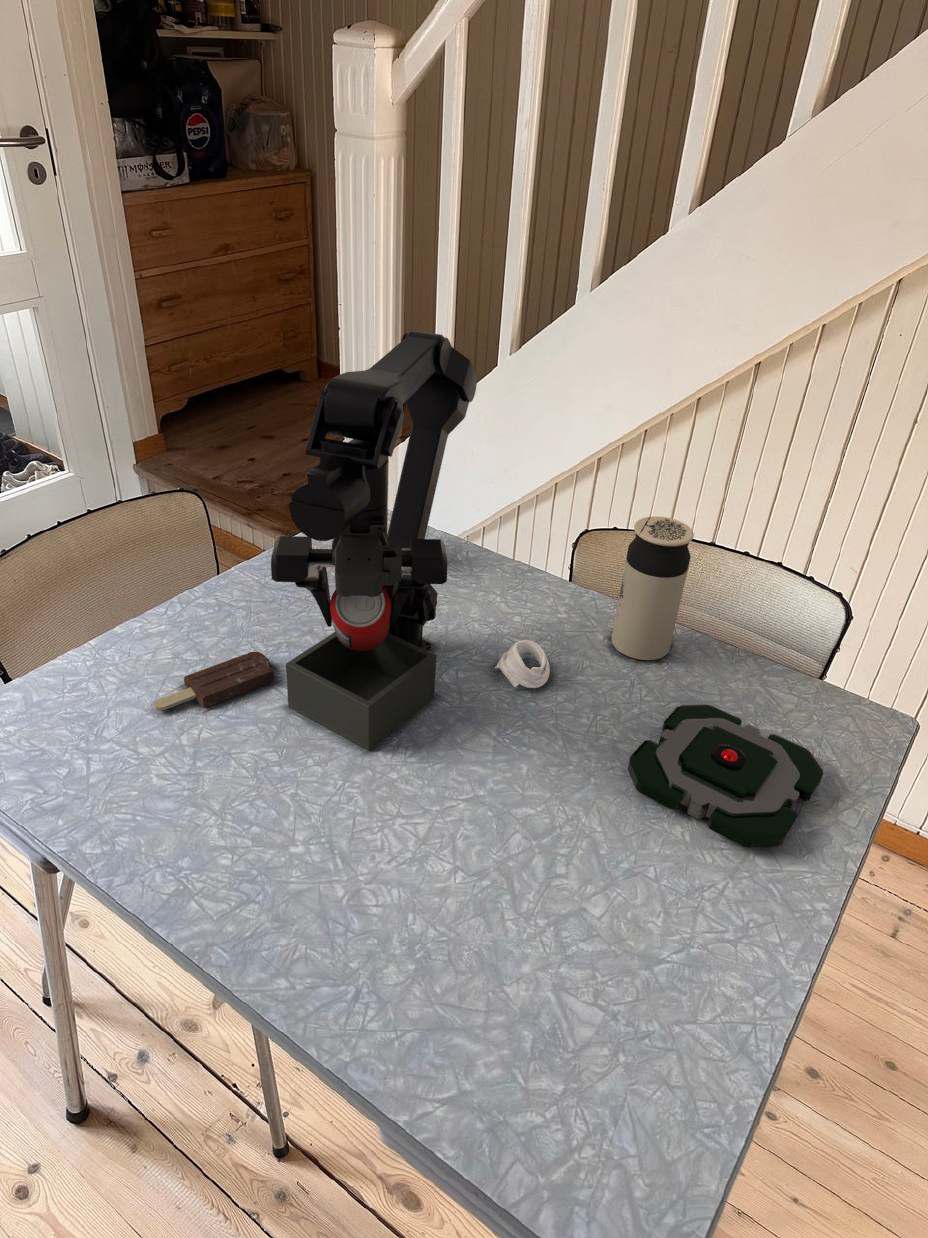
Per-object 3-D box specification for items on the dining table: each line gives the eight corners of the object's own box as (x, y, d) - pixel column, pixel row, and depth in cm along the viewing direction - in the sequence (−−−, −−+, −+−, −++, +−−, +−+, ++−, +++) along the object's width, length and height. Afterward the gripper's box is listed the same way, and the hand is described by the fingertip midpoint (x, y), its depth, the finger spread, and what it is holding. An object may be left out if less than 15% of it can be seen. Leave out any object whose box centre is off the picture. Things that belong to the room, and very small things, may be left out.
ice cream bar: (164, 724, 100) (280, 679, 109) (162, 713, 99) (279, 668, 108) (146, 701, 103) (259, 658, 112) (144, 690, 103) (258, 648, 111)
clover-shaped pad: (613, 787, 96) (619, 757, 93) (683, 709, 108) (690, 680, 106) (769, 871, 87) (781, 839, 85) (825, 776, 100) (837, 746, 97)
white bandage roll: (522, 657, 117) (524, 625, 115) (563, 674, 113) (566, 642, 111) (484, 679, 112) (486, 645, 109) (526, 698, 108) (529, 664, 106)
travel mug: (677, 642, 121) (704, 526, 111) (656, 669, 115) (682, 550, 105) (625, 622, 124) (646, 509, 114) (601, 648, 118) (622, 531, 109)
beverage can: (334, 598, 106) (329, 572, 94) (389, 598, 107) (391, 572, 95) (333, 652, 105) (328, 632, 93) (389, 652, 105) (391, 633, 94)
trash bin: (357, 659, 113) (356, 617, 109) (434, 697, 107) (436, 654, 104) (288, 707, 104) (285, 663, 101) (368, 751, 98) (368, 706, 95)
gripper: (260, 533, 83) (269, 666, 91) (454, 537, 85) (446, 666, 93) (273, 485, 92) (280, 610, 101) (447, 490, 94) (440, 611, 103)
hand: (360, 625), depth 99 cm, fingers closed on beverage can, 7 cm apart
